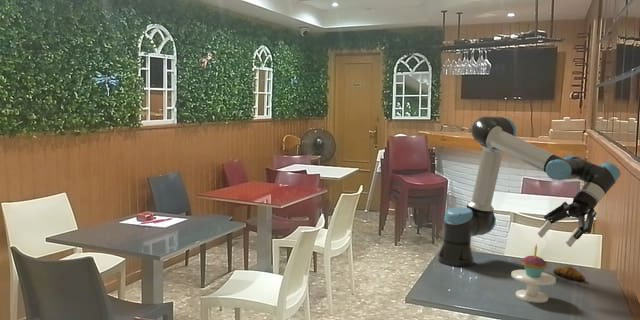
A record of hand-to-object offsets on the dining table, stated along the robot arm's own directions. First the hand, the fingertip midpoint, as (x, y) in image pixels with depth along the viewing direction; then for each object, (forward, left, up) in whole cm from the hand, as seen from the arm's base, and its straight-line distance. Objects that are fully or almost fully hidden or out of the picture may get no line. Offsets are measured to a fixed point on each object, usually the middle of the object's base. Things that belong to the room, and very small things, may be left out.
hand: (553, 239), depth 197 cm
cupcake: (-5, -5, -13) cm, 15 cm away
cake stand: (-5, -5, -21) cm, 22 cm away
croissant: (+2, +31, -21) cm, 38 cm away
